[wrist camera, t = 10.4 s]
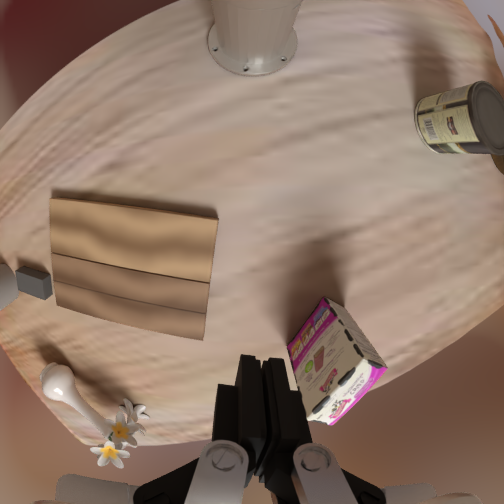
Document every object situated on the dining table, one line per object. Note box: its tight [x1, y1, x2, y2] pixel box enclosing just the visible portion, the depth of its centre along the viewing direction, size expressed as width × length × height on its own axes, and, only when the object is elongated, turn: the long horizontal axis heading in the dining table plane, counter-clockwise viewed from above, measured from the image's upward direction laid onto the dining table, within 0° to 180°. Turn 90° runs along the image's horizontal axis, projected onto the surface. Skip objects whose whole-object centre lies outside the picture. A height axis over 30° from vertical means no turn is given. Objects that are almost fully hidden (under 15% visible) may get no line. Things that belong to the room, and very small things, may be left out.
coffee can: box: [415, 81, 504, 156], centre depth 27 cm, size 10×10×14 cm
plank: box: [50, 197, 219, 282], centre depth 37 cm, size 9×28×2 cm, turn 80°
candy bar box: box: [287, 297, 388, 425], centre depth 35 cm, size 11×5×16 cm, turn 150°
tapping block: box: [15, 266, 53, 300], centre depth 38 cm, size 8×4×3 cm, turn 79°
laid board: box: [51, 252, 210, 341], centre depth 39 cm, size 10×28×2 cm, turn 80°
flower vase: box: [40, 362, 150, 468], centre depth 41 cm, size 13×18×25 cm
